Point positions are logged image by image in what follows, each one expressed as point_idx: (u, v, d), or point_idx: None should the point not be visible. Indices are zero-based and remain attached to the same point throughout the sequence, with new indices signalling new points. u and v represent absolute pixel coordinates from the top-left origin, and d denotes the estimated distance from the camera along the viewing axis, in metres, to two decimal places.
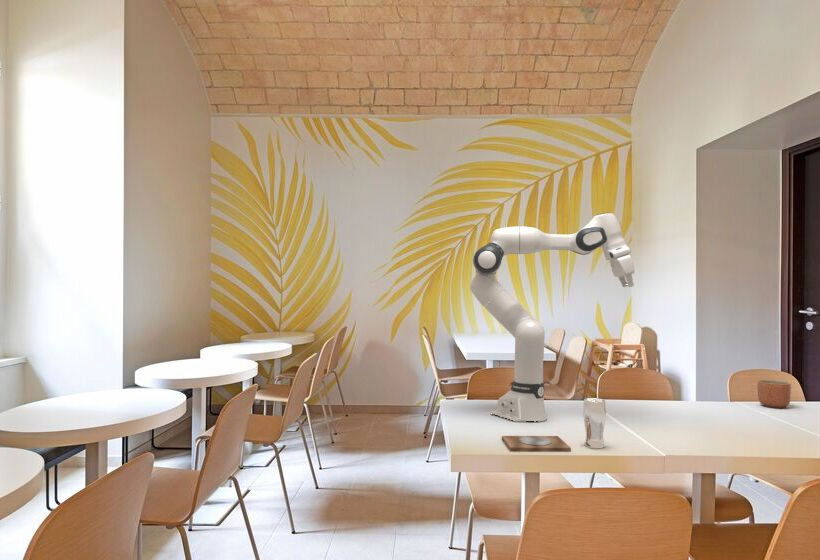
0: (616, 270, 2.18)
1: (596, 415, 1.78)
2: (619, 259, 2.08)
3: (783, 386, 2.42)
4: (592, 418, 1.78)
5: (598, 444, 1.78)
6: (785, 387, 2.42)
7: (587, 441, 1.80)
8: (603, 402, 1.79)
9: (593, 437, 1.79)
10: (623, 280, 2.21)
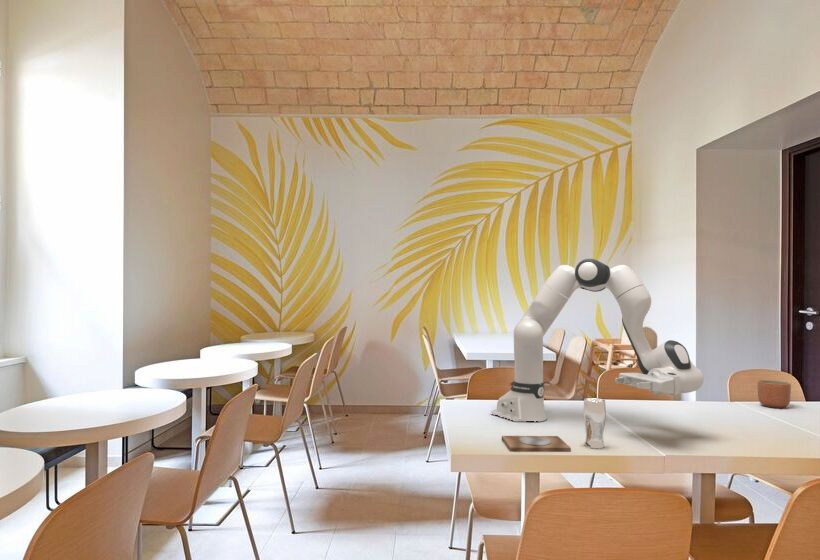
0: (640, 375, 1.89)
1: (596, 415, 1.78)
2: (673, 380, 1.80)
3: (783, 386, 2.42)
4: (592, 418, 1.78)
5: (598, 444, 1.78)
6: (785, 387, 2.42)
7: (587, 441, 1.80)
8: (603, 402, 1.79)
9: (593, 437, 1.79)
10: (621, 380, 1.91)
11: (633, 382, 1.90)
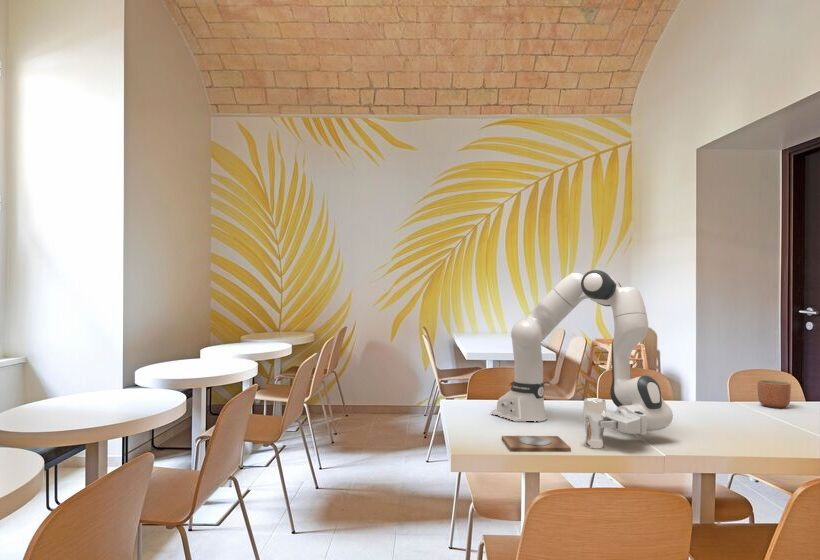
0: (607, 413, 1.85)
1: (596, 415, 1.78)
2: (640, 420, 1.76)
3: (783, 386, 2.42)
4: (592, 418, 1.78)
5: (598, 444, 1.78)
6: (785, 387, 2.42)
7: (587, 441, 1.80)
8: (603, 402, 1.79)
9: (593, 437, 1.79)
10: None
11: None
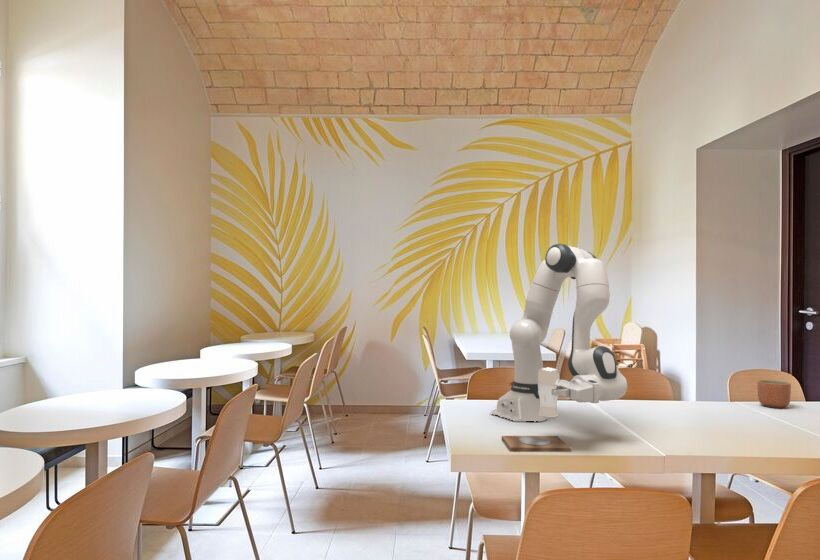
0: (562, 383, 1.86)
1: (549, 384, 1.79)
2: (592, 388, 1.77)
3: (783, 386, 2.42)
4: (545, 387, 1.79)
5: (551, 413, 1.79)
6: (785, 387, 2.42)
7: (541, 410, 1.81)
8: (556, 371, 1.79)
9: (546, 406, 1.80)
10: None
11: None
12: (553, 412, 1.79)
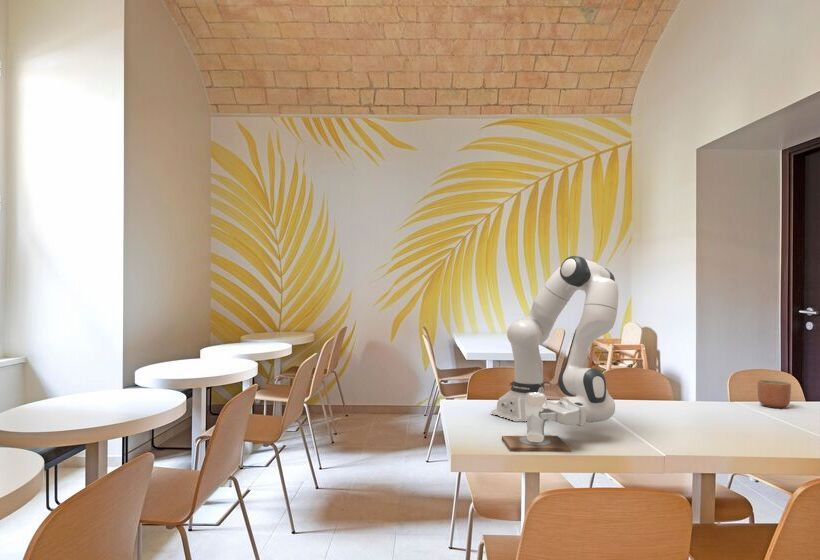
0: (549, 405, 1.86)
1: (536, 409, 1.78)
2: (578, 411, 1.76)
3: (783, 386, 2.42)
4: (532, 412, 1.79)
5: (538, 438, 1.79)
6: (785, 387, 2.42)
7: (528, 435, 1.81)
8: (544, 396, 1.79)
9: (533, 431, 1.79)
10: None
11: None
12: (540, 438, 1.79)
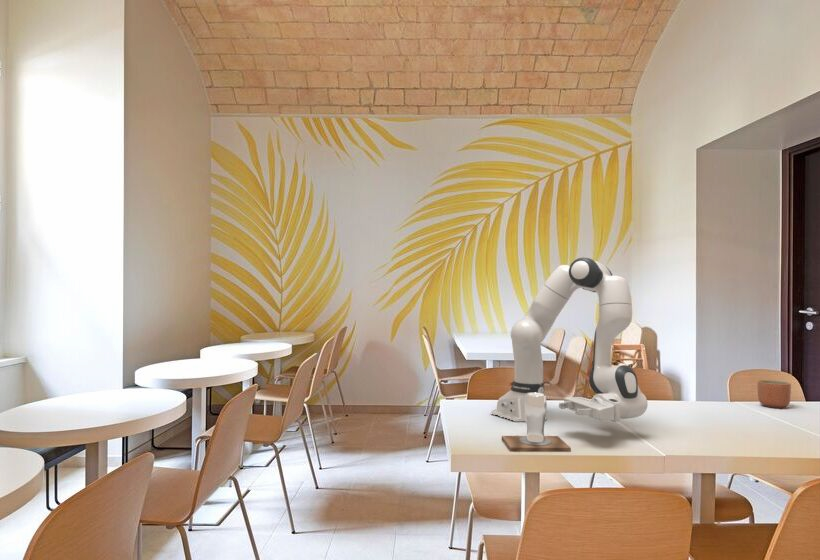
0: (583, 401, 1.90)
1: (536, 409, 1.78)
2: (614, 407, 1.81)
3: (783, 386, 2.42)
4: (532, 412, 1.79)
5: (538, 438, 1.79)
6: (785, 387, 2.42)
7: (528, 435, 1.81)
8: (543, 396, 1.79)
9: (533, 431, 1.79)
10: (565, 405, 1.92)
11: (576, 407, 1.90)
12: (540, 438, 1.79)
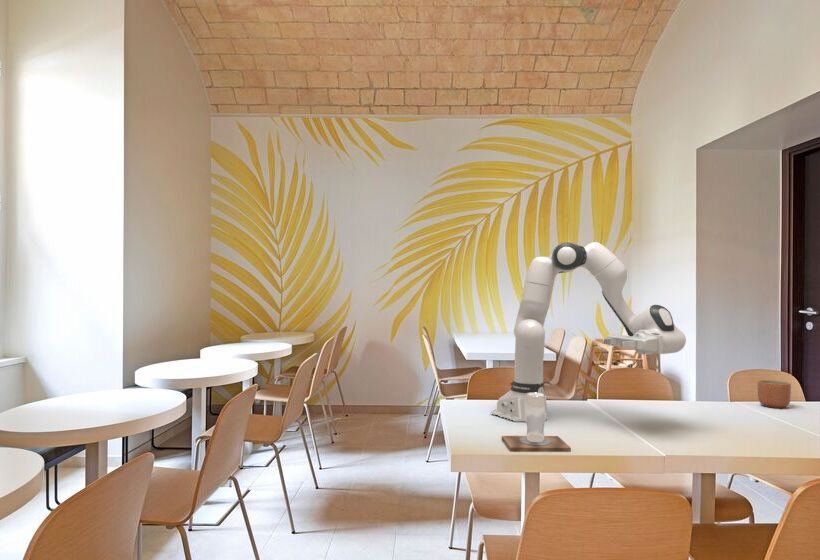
0: None
1: (536, 409, 1.78)
2: (657, 339, 1.93)
3: (783, 386, 2.42)
4: (532, 412, 1.79)
5: (538, 438, 1.79)
6: (785, 387, 2.42)
7: (528, 435, 1.81)
8: (543, 396, 1.79)
9: (533, 431, 1.79)
10: (609, 341, 2.03)
11: (620, 343, 2.02)
12: (540, 438, 1.79)
